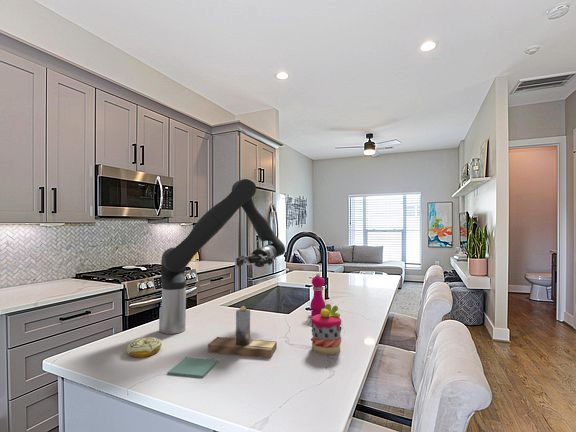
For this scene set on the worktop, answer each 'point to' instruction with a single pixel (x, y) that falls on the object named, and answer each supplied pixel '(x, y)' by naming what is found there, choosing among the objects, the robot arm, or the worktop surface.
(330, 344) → the cake
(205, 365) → the felt mat
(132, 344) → the decorated donut
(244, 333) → the cylinder with brass knob
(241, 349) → the plane body
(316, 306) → the pepper mill
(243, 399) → the worktop surface
